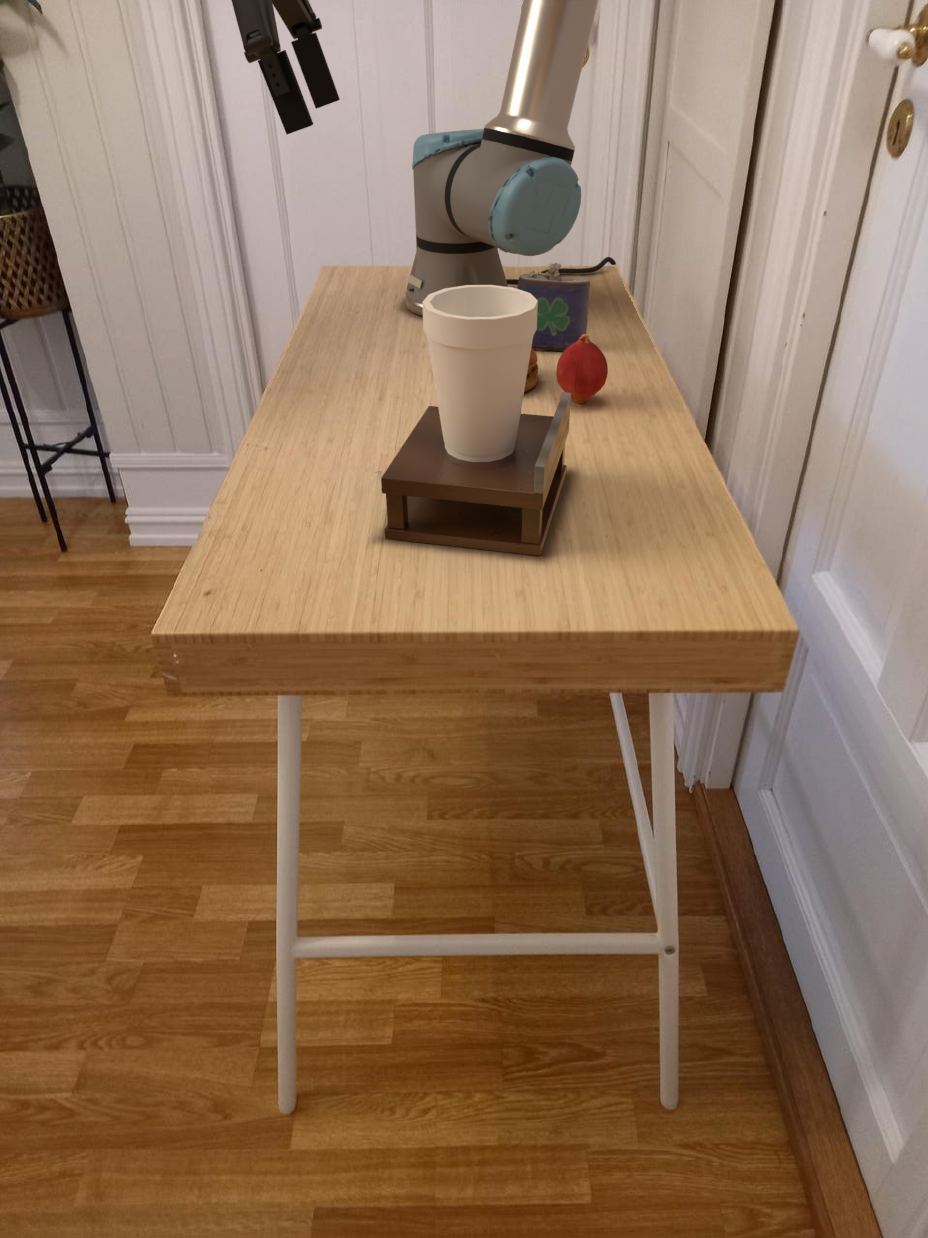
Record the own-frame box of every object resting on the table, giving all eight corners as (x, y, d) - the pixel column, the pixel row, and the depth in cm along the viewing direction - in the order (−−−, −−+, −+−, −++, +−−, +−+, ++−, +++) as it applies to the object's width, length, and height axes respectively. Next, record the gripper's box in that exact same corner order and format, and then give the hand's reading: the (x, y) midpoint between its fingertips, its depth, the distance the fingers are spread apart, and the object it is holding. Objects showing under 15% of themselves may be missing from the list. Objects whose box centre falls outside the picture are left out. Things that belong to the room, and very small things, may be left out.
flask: (586, 346, 123) (592, 261, 117) (584, 353, 121) (589, 268, 115) (517, 341, 125) (519, 258, 119) (513, 349, 122) (515, 264, 116)
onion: (548, 394, 110) (551, 327, 105) (595, 390, 111) (600, 323, 106) (563, 414, 105) (567, 344, 100) (611, 409, 106) (617, 340, 101)
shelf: (430, 460, 96) (427, 381, 91) (566, 473, 93) (571, 392, 88) (384, 538, 83) (378, 450, 78) (540, 556, 80) (544, 466, 75)
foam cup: (521, 474, 80) (526, 322, 72) (417, 465, 81) (410, 315, 74) (538, 429, 87) (544, 287, 80) (442, 421, 89) (439, 281, 81)
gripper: (223, -119, 95) (307, 105, 107) (134, -121, 75) (250, 154, 87) (289, -149, 93) (368, 83, 105) (216, -159, 73) (323, 128, 85)
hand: (314, 116), depth 96 cm, fingers open, 13 cm apart
